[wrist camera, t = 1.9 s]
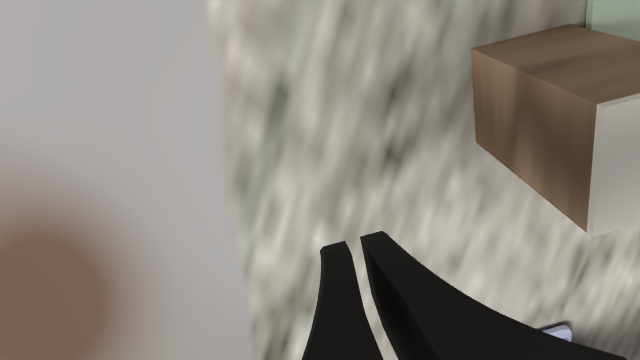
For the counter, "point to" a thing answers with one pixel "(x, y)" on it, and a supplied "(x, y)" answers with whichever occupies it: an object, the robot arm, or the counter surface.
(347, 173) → the counter surface
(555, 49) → the walnut block
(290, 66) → the counter surface
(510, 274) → the counter surface
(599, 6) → the sage mat
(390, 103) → the counter surface
